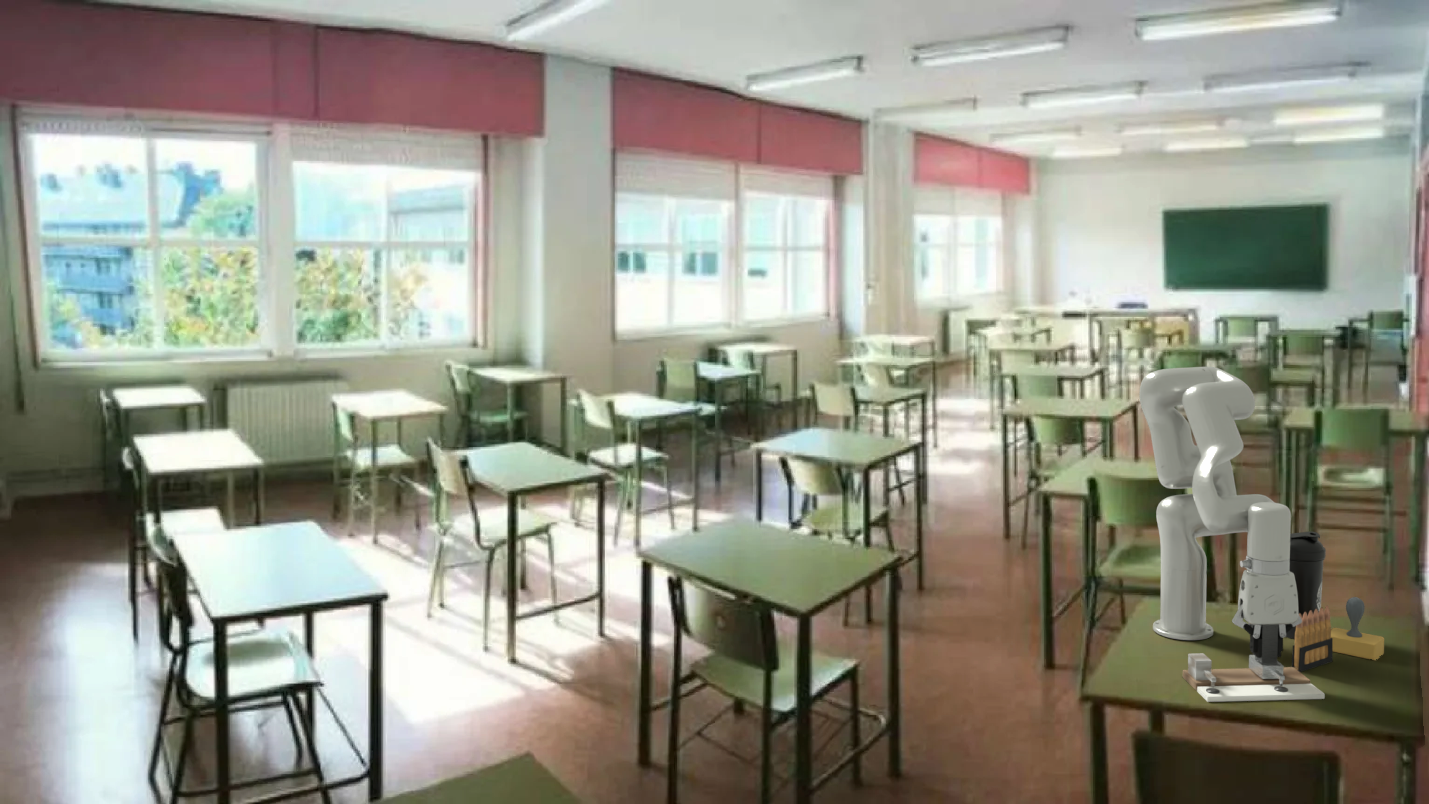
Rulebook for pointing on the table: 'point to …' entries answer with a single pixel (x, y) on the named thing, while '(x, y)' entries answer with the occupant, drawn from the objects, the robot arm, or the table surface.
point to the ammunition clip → (1313, 640)
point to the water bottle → (1307, 571)
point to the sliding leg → (1268, 655)
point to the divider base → (1232, 675)
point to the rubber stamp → (1356, 635)
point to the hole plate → (1260, 692)
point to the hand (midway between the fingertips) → (1266, 654)
